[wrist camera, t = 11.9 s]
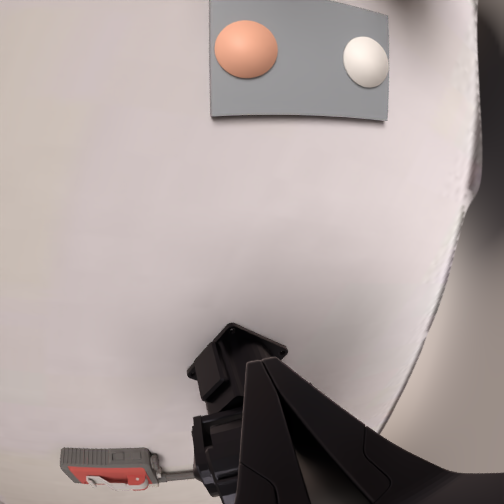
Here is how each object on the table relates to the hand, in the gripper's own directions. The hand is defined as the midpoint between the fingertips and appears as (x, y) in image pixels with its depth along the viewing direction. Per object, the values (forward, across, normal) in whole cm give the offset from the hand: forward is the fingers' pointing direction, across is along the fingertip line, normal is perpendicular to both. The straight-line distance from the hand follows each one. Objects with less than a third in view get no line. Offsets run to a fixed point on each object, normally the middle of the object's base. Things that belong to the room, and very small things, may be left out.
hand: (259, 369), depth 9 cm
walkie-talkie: (+14, +12, +30) cm, 35 cm away
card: (+13, -7, -10) cm, 18 cm away
